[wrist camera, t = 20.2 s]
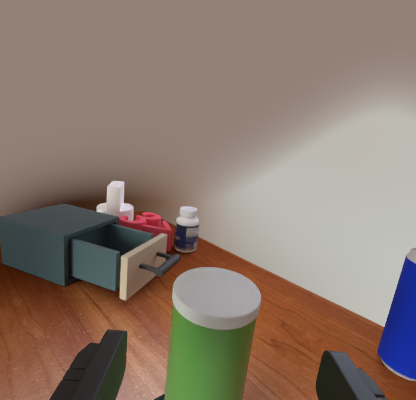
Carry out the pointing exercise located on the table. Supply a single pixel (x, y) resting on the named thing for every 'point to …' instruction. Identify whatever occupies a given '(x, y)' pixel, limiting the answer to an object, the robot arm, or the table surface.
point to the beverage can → (402, 325)
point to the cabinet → (46, 239)
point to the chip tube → (210, 334)
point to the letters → (149, 225)
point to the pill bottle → (186, 230)
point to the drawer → (119, 258)
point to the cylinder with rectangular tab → (116, 202)
